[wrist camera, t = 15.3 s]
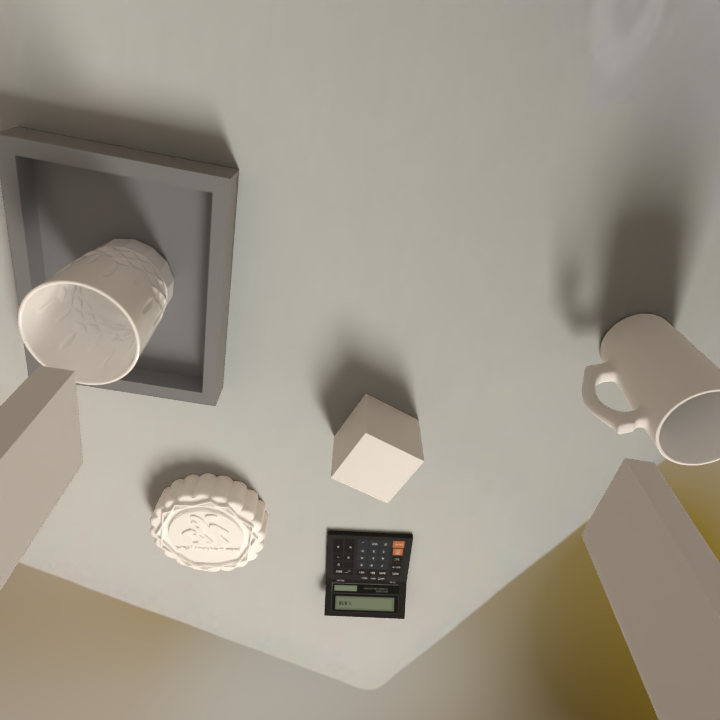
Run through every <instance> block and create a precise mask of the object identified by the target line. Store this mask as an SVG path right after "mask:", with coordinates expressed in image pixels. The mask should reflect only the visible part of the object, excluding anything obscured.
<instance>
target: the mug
mask: <svg viewBox="0 0 720 720" xmlns="http://www.w3.org/2000/svg"><path fill="white" fill-rule="evenodd" d="M600 355H601V359H602V362H603V363H602V364H597V365H590V366H587V367H586V368H585V371H584V377H583V384H582V397H583V400H584V403H585V405H586V406H587V408H588V409H589V410H590V411H591V412H592V413H593V414H594V415H595V416H596V417H597V418H599V419H600V420H601V421H603V422H604V423H606V424H607V425H609V426H611V427H612V428H613V429H615V430H616V432H617V433H618V434H623V433H628V432H632V431H633V430H634V429H635V428H637V427H641V428H644V429H645V430H646V431H647V433H648V435H649V436H650V438H651V439H652V441H653V442H654V443H655V445H656V446H657V448H658V450H659V452H660V453H661V454H662V455H663V456H664V457H665V458H667V459H668V460H670V461H672V462H675V463H678V464H682V465H701V464H707V463H711V462H714V461H718V460H720V369H719V368H718V367H717V366H716V365H715V364H713V363H712V362H711V361H710V360H709V359H708V358H707V357H706V356H705V355H704V354H703V353H701V352H700V351H699V350H698V349H697V348H696V347H695V346H694V345H693V344H692V343H691V342H690V341H688V340H687V339H686V338H685V337H684V336H683V335H682V334H681V333H680V332H679V331H677V330H676V329H675V328H674V327H673V326H672V325H671V324H669V323H668V322H667V321H666V320H665V319H663V318H662V317H659V316H657V315H654V314H636V315H632V316H629V317H627V318H625V319H623V320H621V321H619V322H618V323H616V324H615V325H614V326H613V327H612V328H611V329H610V330H609V331H608V332H607V333H606V335H605V337H604V338H603V341H602V343H601V348H600ZM607 381H613V382H615V383H616V385H617V386H618V388H619V389H620V391H621V392H622V394H623V395H624V397H625V399H626V400H627V402H628V403H629V405H630V406H631V408H632V410H633V411H629V412H621V411H616V410H613V409H611V408H609V407H607V406H605V405H604V404H603V403H602V402H601V401H600V400H599V399H598V397H597V395H596V391H595V388H596V386H597V385H598V384H599V383H602V382H607Z"/></svg>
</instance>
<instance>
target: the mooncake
mask: <svg viewBox="0 0 720 720" xmlns="http://www.w3.org/2000/svg"><path fill="white" fill-rule="evenodd" d="M265 509H266V505H265V503H264V502H263V501H261V500H259V499H258V494H257V493H256V492H255V491H253V490H251V489H247V486H246V485H245V484H244V483H242V482H240V481H233V480H232V479H231V478H230V477H228V476H218V477H216V476H215V475H213V474H210V473H205V474H202V475H201V476H198V475H188V476H187V477H186V478H185V479H177V480H175V481H174V482H173V483H172V485H171V486H170V487H167V488H165V489H164V490H163V492H162V495H161V497H160V499H159V500H158V502H157V505H156V507H155V509H154V511H153V514H152V516H151V518H150V522H151V524H152V526H151V529H150V532H151V534H152V536H154V537H155V543H156V545H157V546H158V547H159V548H162V549H163V551H164V553H165V555H166V556H168V557H170V558H175V559H176V561H177V562H178V563H179V564H182V565H185V566H191V567H192V568H193V569H196V570H202V571H204V570H208V571H211V572H216V571H219V570H220V569H221V570H224V571H230V570H232V569H234V568H236V567H243V566H245V565H246V564H247V563H248V561H250V560H254V559H255V558H256V557H257V555H258V551H260V550H262V548H263V546H264V541H265V536H266V531H267V524H268V519H269V516H268V514H267V512H265Z"/></svg>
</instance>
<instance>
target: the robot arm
mask: <svg viewBox="0 0 720 720" xmlns="http://www.w3.org/2000/svg"><path fill="white" fill-rule="evenodd" d="M82 464H83V456H82V445H81V434H80V423H79V412H78V401H77V390H76V378H75V371H72V370H65V369H59V368H53V367H46V366H39V367H38V368H37V369H36V370H35V371H34V372H33V373H32V374H31V375H30V376H29V377H28V378H27V379H26V380H25V381H24V382H23V383H22V384H21V385H20V386H19V387H18V389H17V390H16V391H15V392H14V393H13V394H12V395H11V396H10V397H9V398H8V399H7V400H6V401H5V402H4V403H3V404H2V405H1V406H0V590H1V588H2V587H3V586H4V584H5V583H6V581H7V579H8V578H9V576H10V575H11V573H12V572H13V570H14V568H15V567H16V565H17V564H18V562H19V561H20V559H21V558H22V556H23V555H24V553H25V552H26V550H27V549H28V547H29V545H30V544H31V542H32V541H33V539H34V538H35V536H36V535H37V533H38V532H39V530H40V528H41V527H42V525H43V524H44V522H45V521H46V519H47V518H48V516H49V515H50V513H51V511H52V510H53V508H54V507H55V505H56V504H57V502H58V501H59V499H60V498H61V496H62V494H63V493H64V491H65V490H66V488H67V487H68V485H69V484H70V482H71V481H72V479H73V477H74V476H75V474H76V473H77V471H78V470H79V468H80V467H81V465H82ZM581 535H582V537H583V540H584V542H585V545H586V547H587V549H588V552H589V554H590V557H591V559H592V561H593V564H594V566H595V569H596V571H597V573H598V576H599V578H600V581H601V583H602V585H603V588H604V590H605V593H606V595H607V597H608V600H609V602H610V604H611V607H612V609H613V612H614V614H615V616H616V619H617V621H618V624H619V626H620V628H621V631H622V633H623V636H624V638H625V640H626V642H627V645H628V647H629V650H630V652H631V655H632V657H633V659H634V662H635V664H636V667H637V669H638V671H639V674H640V676H641V678H642V681H643V683H644V686H645V688H646V690H647V693H648V695H649V698H650V700H651V702H652V705H653V707H654V710H655V712H656V714H657V717H658V719H659V720H720V563H719V561H718V560H717V558H716V557H715V555H714V554H713V552H712V551H711V549H710V548H709V546H708V545H707V543H706V541H705V540H704V538H703V537H702V535H701V534H700V532H699V531H698V529H697V528H696V526H695V525H694V523H693V521H692V520H691V518H690V517H689V515H688V514H687V512H686V511H685V509H684V508H683V506H682V505H681V503H680V502H679V500H678V498H677V497H676V495H675V494H674V492H673V491H672V489H671V488H670V486H669V485H668V483H667V482H666V480H665V479H664V477H663V476H662V474H661V472H660V471H659V469H658V468H657V466H656V465H655V463H652V462H646V461H640V460H634V459H627V458H625V459H624V461H623V462H622V464H621V466H620V468H619V469H618V471H617V473H616V475H615V476H614V478H613V480H612V482H611V483H610V485H609V487H608V489H607V490H606V492H605V494H604V496H603V498H602V499H601V501H600V503H599V505H598V506H597V508H596V510H595V512H594V513H593V515H592V517H591V519H590V520H589V522H588V524H587V526H586V528H585V529H584V531H583V533H582V534H581Z"/></svg>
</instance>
